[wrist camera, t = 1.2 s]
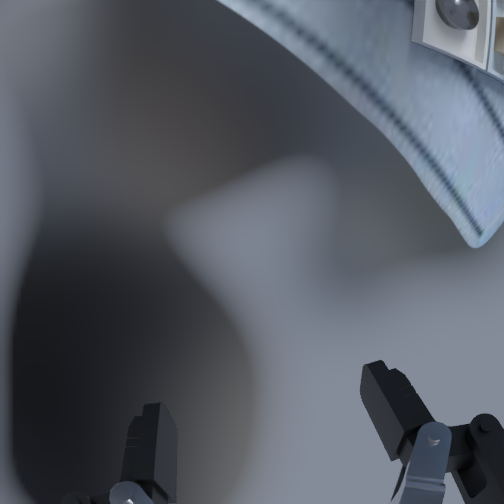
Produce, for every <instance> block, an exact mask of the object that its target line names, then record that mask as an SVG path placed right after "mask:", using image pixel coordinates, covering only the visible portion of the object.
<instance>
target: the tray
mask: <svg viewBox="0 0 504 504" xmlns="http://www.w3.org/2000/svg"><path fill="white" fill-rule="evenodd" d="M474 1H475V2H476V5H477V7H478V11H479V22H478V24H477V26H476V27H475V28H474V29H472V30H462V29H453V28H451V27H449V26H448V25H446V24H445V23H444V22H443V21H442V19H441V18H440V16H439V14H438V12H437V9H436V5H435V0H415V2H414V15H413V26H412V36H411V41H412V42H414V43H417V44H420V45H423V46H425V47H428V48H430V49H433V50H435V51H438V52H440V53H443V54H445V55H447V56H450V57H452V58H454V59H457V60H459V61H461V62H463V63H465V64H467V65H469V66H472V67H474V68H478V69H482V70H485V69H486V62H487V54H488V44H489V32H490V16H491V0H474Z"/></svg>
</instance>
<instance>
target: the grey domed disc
mask: <svg viewBox="0 0 504 504" xmlns="http://www.w3.org/2000/svg"><path fill="white" fill-rule="evenodd" d="M435 5H436V9H437V12H438V14H439V16H440V18H441V19H442V21H443V22H444V23H445V24H446V25H448V26H449V27H451V28H453V29H462V30H472V29H474V28H475V27H476V26H477V24H478V22H479V11H478V7H477V5H476V2H475V1H474V0H435Z"/></svg>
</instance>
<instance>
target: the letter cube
mask: <svg viewBox="0 0 504 504" xmlns="http://www.w3.org/2000/svg"><path fill="white" fill-rule="evenodd" d="M494 51H495V52H497V53H498V54H500V55H502V56H503V57H504V17H496V26H495V40H494Z"/></svg>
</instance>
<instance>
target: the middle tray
mask: <svg viewBox="0 0 504 504" xmlns="http://www.w3.org/2000/svg"><path fill="white" fill-rule="evenodd" d="M496 17H504V0H491V16H490V32H489V44H488V54H487V62H486V69H485V70H482V69H478V68H476V69H478V70H480V71H482V72H484V73H485V74H487V75H489V76H491V77H493V78H495V79H497V80H499V81H500V82H502V83H504V57H503V56H502V55H500V54H498V53H497V52H495V51H494V40H495V26H496Z"/></svg>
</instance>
